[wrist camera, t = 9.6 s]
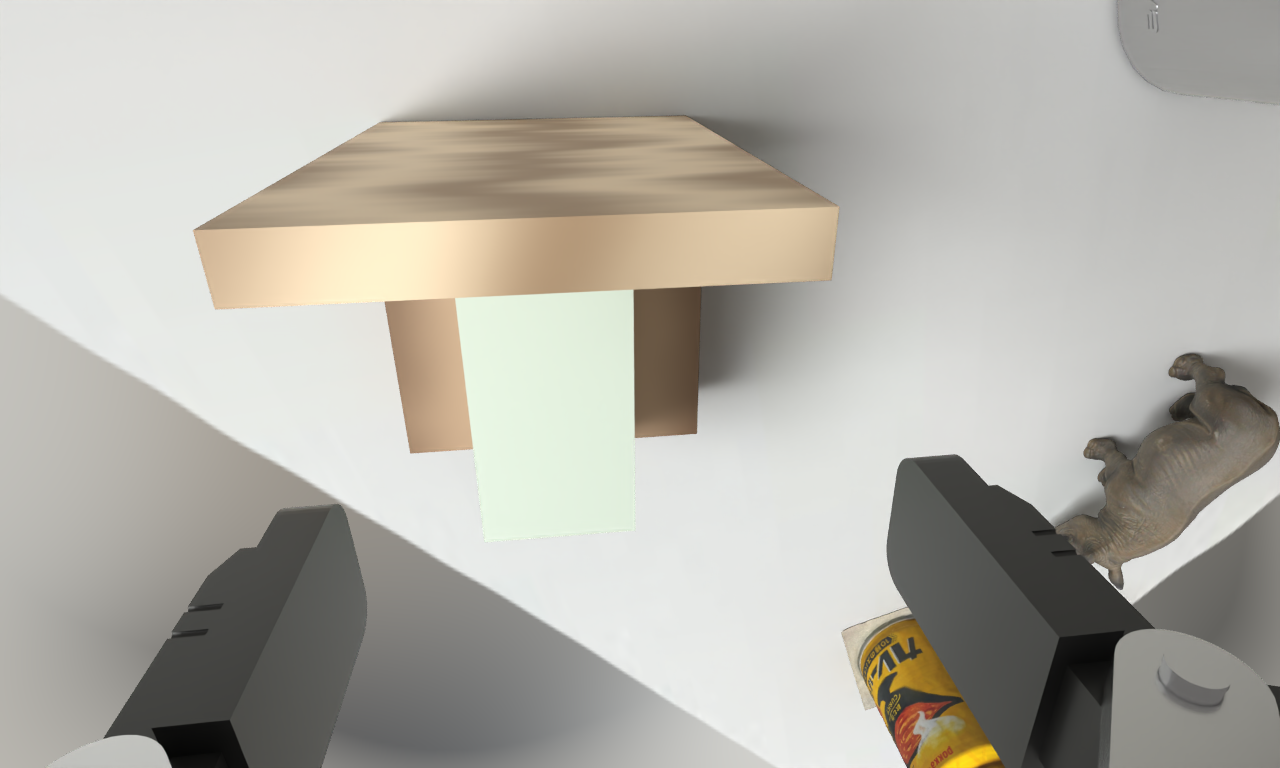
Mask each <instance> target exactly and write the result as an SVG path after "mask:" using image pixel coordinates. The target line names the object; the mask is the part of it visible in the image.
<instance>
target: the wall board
mask: <svg viewBox="0 0 1280 768" xmlns="http://www.w3.org/2000/svg"><path fill="white" fill-rule="evenodd" d="M838 215H839V206H837V205H836V204H834V203H832V202H831V201H829V200H827V199H826V198H824V197H822V196H820V195H819V194H817V193H815V192H814V191H812V190H810V189H809V188H807V187H805V186H804V185H802V184H800V183H799V182H797V181H795V180H794V179H792V178H790V177H788V176H787V175H785V174H783V173H782V172H780V171H778V170H777V169H775V168H773V167H772V166H770V165H768V164H767V163H765V162H763V161H762V160H760V159H758V158H756V157H755V156H753V155H751V154H750V153H748V152H746V151H745V150H743V149H741V148H740V147H738V146H736V145H735V144H733V143H731V142H729V141H728V140H726V139H724V138H723V137H721V136H719V135H718V134H716V133H714V132H713V131H711V130H709V129H708V128H706V127H704V126H703V125H701V124H699V123H697V122H696V121H694V120H692V119H691V118H689V117H687V116H645V117H600V118H555V119H510V120H465V121H420V122H380V123H378V124H376V125H374V126H373V127H371V128H369V129H367V130H366V131H364V132H362V133H360V134H359V135H357V136H355V137H354V138H352V139H350V140H348V141H347V142H345V143H343V144H341V145H340V146H338V147H336V148H335V149H333V150H331V151H329V152H328V153H326V154H324V155H322V156H321V157H319V158H317V159H315V160H314V161H312V162H310V163H309V164H307V165H305V166H303V167H302V168H300V169H298V170H296V171H295V172H293V173H291V174H290V175H288V176H286V177H284V178H283V179H281V180H279V181H277V182H276V183H274V184H272V185H270V186H269V187H267V188H265V189H264V190H262V191H260V192H258V193H257V194H255V195H253V196H251V197H250V198H248V199H246V200H245V201H243V202H241V203H239V204H238V205H236V206H234V207H232V208H231V209H229V210H227V211H225V212H224V213H222V214H220V215H219V216H217V217H215V218H213V219H212V220H210V221H208V222H206V223H205V224H203V225H201V226H200V227H198V228H196V229H194V230H193V232H194V236H195V239H196V243H197V247H198V250H199V254H200V257H201V261H202V265H203V268H204V272H205V275H206V279H207V283H208V286H209V290H210V293H211V297H212V301H213V304H214V308H215V309H235V308H256V307H277V306H298V305H319V304H340V303H361V302H383V301H404V300H425V299H446V298H467V297H488V296H509V295H530V294H551V293H573V292H594V291H615V290H636V289H657V288H678V287H699V286H720V285H741V284H763V283H784V282H805V281H826V280H831V279H832V270H833V261H834V252H835V243H836V234H837V224H838Z"/></svg>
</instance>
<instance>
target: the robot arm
mask: <svg viewBox="0 0 1280 768" xmlns="http://www.w3.org/2000/svg"><path fill="white" fill-rule="evenodd" d="M1117 8H1118V28H1119V32H1120V37H1121V41H1122V45H1123V49H1124V51H1125V53H1126V55H1127V56H1128V58H1129V60H1130V62H1131V64H1132V66H1133V67H1134V69H1135V70H1136V71H1137V72H1138V73H1139V74H1140V75H1141V76H1142V77H1143V78H1144V79H1145V80H1146V81H1147V82H1149V83H1151V84H1152V85H1154V86H1156V87H1158V88H1159V89H1161V90H1163V91H1168V92H1172V93H1176V94H1181V95H1189V96H1199V97H1209V98H1219V99H1229V100H1238V101H1248V102H1256V103H1263V104H1273V105H1280V0H1117ZM887 560H888V566H889V570H890V574H891V577H892V580H893V582H894V584H895V586H896V588H897V590H898V591H899V593H900V594H901V596H902V598H903V599H904V601H905V603H906V604H907V606H908V608H909V609H910V611H911V613H912V614H913V616H914V618H915V619H916V621H917V623H918V624H919V626H920V628H921V629H922V631H923V632H924V634H925V636H926V637H927V639H928V641H929V642H930V644H931V646H932V647H933V649H934V651H935V652H936V654H937V656H938V657H939V659H940V661H941V662H942V664H943V665H944V667H945V669H946V670H947V672H948V674H949V675H950V677H951V679H952V680H953V682H954V684H955V685H956V687H957V689H958V690H959V692H960V694H961V695H962V697H963V699H964V700H965V702H966V703H967V705H968V707H969V708H970V710H971V712H972V713H973V715H974V717H975V718H976V720H977V722H978V723H979V725H980V727H981V728H982V730H983V732H984V733H985V735H986V736H987V738H988V740H989V741H990V743H991V745H992V746H993V748H994V750H995V751H996V753H997V755H998V756H999V758H1000V760H1001V761H1002V763H1003V765H1004V766H1005V768H1280V687H1278V686H1271V685H1267V684H1266V683H1265V682H1264V681H1263V680H1262V678H1261V677H1260V676H1258V675H1257V674H1256V672H1254V671H1253V670H1252V669H1251V668H1250V667H1249V666H1247V665H1246V664H1245V663H1244V662H1242V661H1241V660H1240V659H1238V658H1236V657H1235V656H1233V655H1232V654H1230V653H1229V652H1227V651H1225V650H1223V649H1221V648H1220V647H1218V646H1216V645H1214V644H1211V643H1209V642H1207V641H1205V640H1202V639H1199V638H1197V637H1194V636H1191V635H1188V634H1184V633H1180V632H1175V631H1169V630H1163V629H1155V628H1154V627H1153V626H1152V625H1151V624H1150V623H1149V622H1148V621H1147V620H1146V619H1145V618H1144V617H1143V616H1142V615H1141V614H1140V613H1139V612H1138V611H1137V610H1136V609H1135V608H1134V607H1133V606H1132V605H1131V604H1130V603H1129V602H1128V601H1127V600H1126V599H1125V598H1124V597H1123V596H1122V595H1121V594H1120V593H1119V592H1118V591H1117V590H1116V589H1115V588H1114V587H1113V586H1112V585H1111V584H1110V583H1109V582H1108V581H1107V580H1106V579H1105V578H1104V577H1103V576H1102V575H1101V574H1100V573H1099V572H1098V571H1097V570H1096V569H1095V568H1094V567H1093V566H1092V565H1091V564H1090V563H1089V562H1088V561H1087V560H1086V559H1085V558H1084V557H1083V556H1082V555H1077V553H1076V549H1075V548H1074V547H1073V546H1072V545H1071V544H1070V543H1069V542H1068V541H1067V540H1066V539H1065V538H1064V537H1063V536H1062V535H1061V534H1057V533H1056V529H1055V528H1054V527H1053V526H1052V525H1051V524H1050V523H1049V522H1048V521H1047V520H1046V519H1045V518H1044V517H1043V516H1042V515H1041V514H1040V513H1039V512H1038V511H1037V510H1036V509H1035V508H1034V507H1033V506H1032V505H1031V504H1030V503H1028V502H1026V501H1024V500H1023V499H1021V498H1019V497H1017V496H1016V495H1014V494H1012V493H1010V492H1008V491H1007V490H1005V489H1003V488H1001V487H1000V486H998V485H992V486H988V485H987V484H986V483H985V482H984V481H983V479H982V478H981V477H980V476H979V475H978V474H977V473H976V472H975V471H974V470H973V469H972V468H971V467H970V466H969V465H968V464H967V463H966V461H965V460H964V459H962V458H961V457H960V456H958V455H955V454H954V455H942V456H930V457H917V458H906V459H904V460H902V462H901V463H900V465H899V467H898V470H897V476H896V483H895V490H894V497H893V504H892V510H891V517H890V524H889V531H888V538H887ZM188 608H189V609H188V612H186V613H184V614H183V616H182V617H181V618H180V620H179V622H178V623H177V625H176V626H175V628H174V629H173V631H172V638H171V639H167V640H166V642H165V643H164V645H163V646H162V648H161V649H160V651H159V653H158V654H157V656H156V657H155V659H154V661H153V662H152V663H151V665H150V667H149V668H148V670H147V671H146V673H145V674H144V676H143V678H142V679H141V681H140V682H139V684H138V685H137V687H136V688H135V690H134V692H133V693H132V695H131V696H130V698H129V699H128V701H127V702H126V704H125V706H124V707H123V709H122V710H121V712H120V713H119V715H118V716H117V718H116V720H115V721H114V723H113V724H112V726H111V727H110V729H109V730H108V732H107V734H106V735H105V737H104V738H103V739H101V740H98V741H95V742H92V743H89V744H87V745H84V746H82V747H80V748H78V749H76V750H73V751H71V752H69V753H68V754H66V755H64V756H62V757H61V758H59V759H57V760H55V761H54V762H52V763H51V764H49V765H48V766H46V767H45V768H321V767H322V764H323V761H324V758H325V755H326V751H327V748H328V745H329V742H330V739H331V736H332V733H333V730H334V727H335V723H336V720H337V717H338V714H339V711H340V708H341V705H342V701H343V699H344V695H345V692H346V689H347V686H348V683H349V680H350V676H351V674H352V670H353V667H354V664H355V661H356V658H357V655H358V652H359V649H360V646H361V643H362V639H363V636H364V632H365V626H366V618H367V600H366V592H365V587H364V583H363V579H362V575H361V571H360V567H359V563H358V559H357V555H356V551H355V547H354V544H353V539H352V535H351V532H350V528H349V524H348V520H347V517H346V513H345V511H344V509H343V508H342V506H341V505H339V504H331V505H318V506H306V507H295V508H283V509H281V510H279V511H278V512H277V514H276V515H275V517H274V518H273V520H272V522H271V524H270V525H269V527H268V529H267V530H266V532H265V534H264V536H263V537H262V539H261V541H260V543H259V544H258V546H257V547H255V548H244V549H240V550H238V551H237V552H236V553H235V554H234V555H232V556H231V557H230V558H229V559H228V560H226V561H225V562H224V563H223V564H222V565H220V566H219V567H218V568H217V569H216V570H214V571H213V572H212V573H211V574H210V575H208V577H207V578H206V579H205V581H204V583H203V584H202V586H201V587H200V589H199V591H198V592H197V593H196V595H195V597H194V598H193V600H192V601H191V603H190V604H189V606H188Z"/></svg>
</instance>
